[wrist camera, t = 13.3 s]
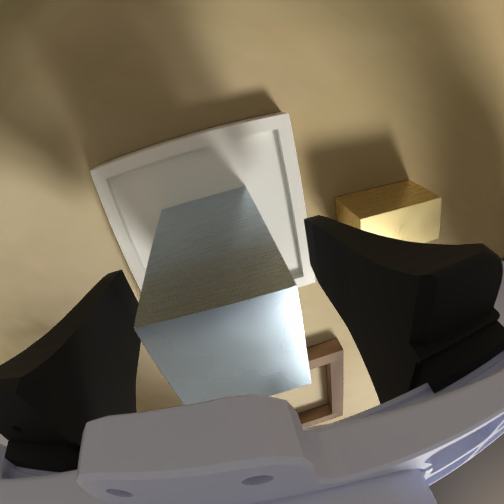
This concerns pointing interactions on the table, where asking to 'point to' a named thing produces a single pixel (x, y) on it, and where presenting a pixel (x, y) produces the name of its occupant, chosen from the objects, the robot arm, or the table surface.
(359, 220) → the bar
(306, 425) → the socket
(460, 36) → the table surface
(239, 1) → the table surface
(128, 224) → the tray
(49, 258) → the table surface
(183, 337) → the brushed metal block
